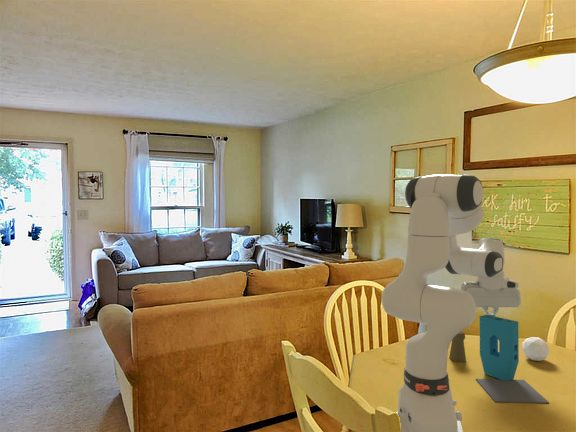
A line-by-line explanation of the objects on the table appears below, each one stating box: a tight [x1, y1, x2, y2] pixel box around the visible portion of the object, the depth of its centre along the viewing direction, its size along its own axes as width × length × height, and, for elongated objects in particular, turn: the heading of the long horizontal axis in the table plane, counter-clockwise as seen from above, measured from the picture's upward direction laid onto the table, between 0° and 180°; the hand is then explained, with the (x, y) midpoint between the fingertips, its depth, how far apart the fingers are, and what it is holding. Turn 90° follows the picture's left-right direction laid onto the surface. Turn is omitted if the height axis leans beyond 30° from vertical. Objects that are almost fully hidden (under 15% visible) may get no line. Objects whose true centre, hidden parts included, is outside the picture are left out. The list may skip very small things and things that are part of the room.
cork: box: [448, 330, 467, 363], centre depth 157 cm, size 6×6×11 cm
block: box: [479, 314, 520, 381], centre depth 142 cm, size 12×5×20 cm, turn 31°
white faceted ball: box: [521, 336, 550, 362], centre depth 157 cm, size 9×9×12 cm
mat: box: [475, 378, 550, 404], centre depth 131 cm, size 15×16×1 cm
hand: (489, 318), depth 149 cm, fingers closed
